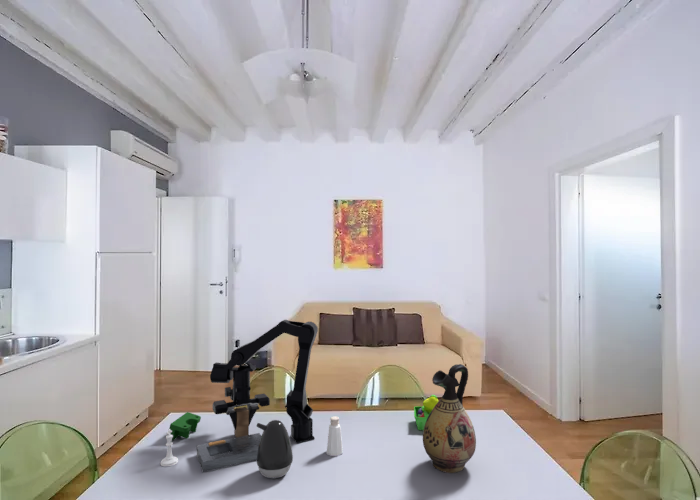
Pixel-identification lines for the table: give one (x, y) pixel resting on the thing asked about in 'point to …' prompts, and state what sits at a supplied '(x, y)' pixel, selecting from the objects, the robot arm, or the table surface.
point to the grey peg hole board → (237, 452)
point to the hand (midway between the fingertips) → (241, 428)
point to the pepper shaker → (334, 438)
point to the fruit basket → (424, 411)
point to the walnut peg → (242, 422)
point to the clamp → (184, 425)
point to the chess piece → (169, 452)
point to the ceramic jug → (449, 425)
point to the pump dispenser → (274, 450)
